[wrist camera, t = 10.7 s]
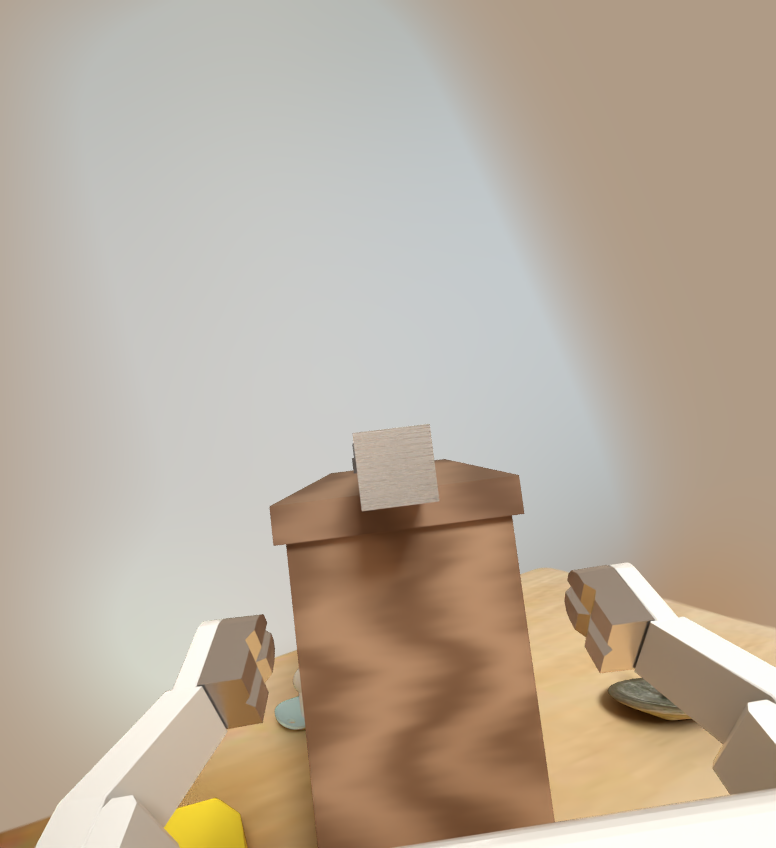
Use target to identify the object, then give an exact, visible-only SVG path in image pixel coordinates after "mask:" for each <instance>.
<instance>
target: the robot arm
mask: <svg viewBox="0 0 776 848" xmlns="http://www.w3.org/2000/svg"><path fill="white" fill-rule="evenodd" d="M567 581H568V582H569V584H570V585H571V587H570V588H569V589H568V590H567V591H566V592H565V606H566V611H567V614H568V616H569V619H570V621H571V623H572V625H573V627H574V628H575V630H576V631H578V632H579V633H581V634H582V635H583V636H585V637H586V640H585V648H586V650H587V651H588V653H589V655H590V657H591V658H592V660H593V662H594V664H595V665H596V667H597V669H598V670H599V672H600V673H606V672H615V671H624V670H632V669H635V672H636V673H637V674H638V675H639V676H641V677H642V678H643V679H644V680H646V681H647V682H648V683H649V684H650V685H652V686H653V687H654V688H655V689H656V690H658V691H659V692H660V693H661V694H663V695H664V696H665V697H666V698H667V699H669V700H670V701H671V702H672V703H673V704H675V705H676V706H677V707H678V708H680V709H681V710H682V711H683V712H684V713H686V714H687V715H688V716H689V717H690V718H692V719H693V720H694V721H695V722H697V723H698V724H699V725H700V726H701V727H703V728H704V729H705V730H706V731H708V732H709V733H710V734H711V735H712V736H714V737H715V738H716V739H717V740H718V741H720V742H721V743H722V744H723V746H722V747H721V749H720V751H719V752H718V754H717V756H716V757H715V759H714V762H713V770H714V771H715V773H716V774H717V776H718V777H719V779H720V780H721V782H722V783H723V785H724V786H725V788H726V789H727V791H728V792H729V794H730V795H726V796H720V797H713V798H707V799H700V800H694V801H688V802H681V803H675V804H669V805H662V806H656V807H649V808H643V809H637V810H630V811H624V812H618V813H611V814H605V815H598V816H592V817H586V818H579V819H573V820H567V821H560V822H554V823H547V824H541V825H535V826H528V827H522V828H515V829H509V830H503V831H496V832H490V833H484V834H477V835H471V836H464V837H458V838H452V839H445V840H439V841H433V842H426V843H420V844H413V845H407V846H401V847H394V848H776V668H775V667H773V666H772V665H770V664H768V663H766V662H765V661H763V660H761V659H759V658H757V657H756V656H754V655H752V654H750V653H748V652H747V651H745V650H743V649H741V648H739V647H738V646H736V645H734V644H732V643H730V642H729V641H727V640H725V639H723V638H721V637H720V636H718V635H716V634H714V633H713V632H711V631H709V630H707V629H705V628H704V627H702V626H700V625H698V624H696V623H695V622H693V621H691V620H689V619H687V618H686V617H677V615H676V614H675V613H674V612H673V611H672V610H671V609H670V607H669V606H668V605H667V604H666V603H665V602H664V600H663V599H662V598H661V597H660V596H659V595H658V594H657V592H656V591H655V590H654V589H653V588H652V587H651V586H650V584H649V583H648V582H647V581H646V580H645V579H644V578H643V576H642V575H641V574H640V573H639V572H638V571H637V569H636V568H635V567H634V566H633V565H631V564H630V563H620V564H614V565H608V566H607V565H604V566H597V567H590V568H584V569H578V570H572V571H571V572H570V573H569V574H568V580H567ZM266 625H267V621H266V619H265V617H264V615H263V614H262V615H254V616H244V617H235V618H226V619H219V620H211V621H203V622H202V623H201V625H200V626H199V627H198V629H197V631H196V634H195V636H194V638H193V641H192V643H191V646H190V648H189V651H188V653H187V655H186V658H185V660H184V663H183V665H182V668H181V670H180V672H179V675H178V677H177V680H176V682H175V685H174V687H173V689H172V690H170V691H166V692H165V693H164V694H163V695H162V696H161V697H160V698H159V699H158V700H157V701H156V702H155V703H154V704H153V705H152V706H151V707H150V708H149V710H148V711H147V712H146V713H145V714H144V715H143V716H142V717H141V718H140V719H139V720H138V721H137V722H136V723H135V724H134V725H133V726H132V727H131V728H130V729H129V730H128V731H127V732H126V734H124V735H123V737H122V738H121V739H120V740H119V741H118V742H117V743H116V744H115V745H114V746H113V747H112V748H111V749H110V750H109V751H108V752H107V753H106V754H105V755H104V756H103V757H102V758H101V760H100V761H99V762H98V763H97V764H96V765H95V766H94V767H93V768H92V769H91V770H90V771H89V772H88V773H87V774H86V775H85V776H84V777H83V778H82V779H81V780H80V781H79V782H78V783H77V785H76V786H75V787H74V788H73V789H72V790H71V791H70V792H69V793H68V794H67V795H66V796H65V797H64V798H63V800H61V801H60V802H59V803H58V805H57V807H56V809H55V811H54V812H53V814H52V816H51V818H50V820H49V822H48V824H47V826H46V828H45V829H44V831H43V833H42V835H41V837H40V839H39V841H38V843H37V844H36V846H35V848H180V847H179V844H178V843H177V842H176V840H175V839H174V838H173V837H172V836H171V835H170V834H169V833H168V832H167V831H166V830H165V829H164V827H165V825H166V824H167V822H168V821H169V819H170V818H171V816H172V815H173V813H174V812H175V810H176V809H177V807H178V806H179V804H180V803H181V801H182V800H183V798H184V797H185V795H186V794H187V792H188V791H189V789H190V788H191V786H192V785H193V783H194V781H195V780H196V778H197V777H198V775H199V774H200V772H201V771H202V769H203V768H204V766H205V765H206V763H207V762H208V760H209V759H210V757H211V756H212V754H213V753H214V751H215V750H216V748H217V747H218V745H219V744H220V742H221V741H222V739H223V738H224V736H225V735H226V733H227V729H231V728H236V727H242V726H247V725H253V724H259V723H263V718H264V713H265V708H266V703H267V698H268V693H269V692H268V690H267V687H266V685H265V682H266V681H267V679H268V678H269V677H270V676H271V674H272V672H273V666H274V657H275V647H274V640H273V637H272V634H271V633H269V632H268V631H266V630H265V629H266Z"/></svg>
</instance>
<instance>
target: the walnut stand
mask: <svg viewBox="0 0 776 848" xmlns="http://www.w3.org/2000/svg"><path fill="white" fill-rule="evenodd" d="M353 452H354V458H352V462H353V469H354V471H346V472H338V473H331V474H329V475H327V476H325V477H323V478H322V479H320V480H318V481H316V482H314V483H312V484H310V485H309V486H307V487H305V488H303V489H301V490H299V491H297V492H296V493H294V494H292V495H290V496H288V497H286V498H284V499H282V500H281V501H279V502H277V503H275V504H273V505H271V506H270V515H271V526H272V535H273V544H274V546H276V545H284V544H286V547H287V556H288V567H289V576H290V585H291V595H292V604H293V613H294V623H295V633H296V643H297V652H298V662H299V671H300V681H301V690H302V700H303V709H304V719H305V728H306V738H307V747H308V757H309V767H310V776H311V786H312V795H313V805H314V814H315V824H316V833H317V843H318V848H394V847H401V846H407V845H413V844H420V843H426V842H433V841H439V840H445V839H452V838H458V837H464V836H471V835H477V834H484V833H490V832H496V831H503V830H509V829H515V828H522V827H528V826H535V825H541V824H547V823H554V822H555V821H554V814H553V807H552V799H551V792H550V785H549V778H548V771H547V764H546V756H545V749H544V742H543V735H542V728H541V721H540V714H539V706H538V699H537V692H536V685H535V678H534V671H533V663H532V656H531V649H530V642H529V635H528V628H527V620H526V613H525V606H524V599H523V592H522V585H521V578H520V570H519V563H518V557H517V549H516V543H515V535H514V527H513V520H512V515H518V514H524V508H523V501H522V494H521V487H520V480H519V475H516V474H511V473H506V472H502V471H497V470H492V469H488V468H483V467H478V466H474V465H469V464H465V463H460V462H455V461H451V460H446V459H443V460H434V463H435V470H436V478H437V486H438V494H439V502H431V503H423V504H415V505H408V506H400V507H392V508H384V509H376V510H368V511H362V509H361V501H360V492H359V484H358V475H357V466H356V458H355V449H354V443H353Z"/></svg>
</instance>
